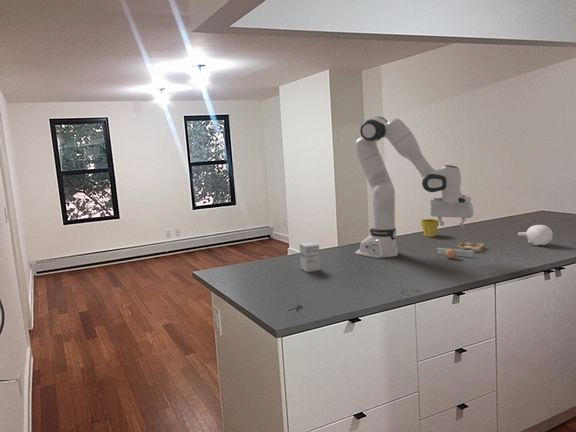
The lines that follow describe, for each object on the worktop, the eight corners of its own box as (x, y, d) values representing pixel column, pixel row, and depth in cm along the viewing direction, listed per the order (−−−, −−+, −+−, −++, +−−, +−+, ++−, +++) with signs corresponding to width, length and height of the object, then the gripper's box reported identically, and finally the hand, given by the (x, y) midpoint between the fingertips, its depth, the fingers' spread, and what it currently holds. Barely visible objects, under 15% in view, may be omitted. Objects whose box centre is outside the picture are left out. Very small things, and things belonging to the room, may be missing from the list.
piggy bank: (555, 249, 255) (529, 246, 268) (558, 227, 256) (532, 225, 269) (541, 245, 249) (515, 242, 262) (544, 223, 250) (518, 221, 263)
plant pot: (431, 233, 301) (431, 218, 300) (442, 236, 292) (442, 220, 290) (417, 235, 298) (417, 220, 296) (428, 238, 288) (428, 222, 287)
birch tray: (455, 250, 255) (455, 246, 255) (462, 245, 265) (462, 242, 265) (479, 252, 248) (479, 248, 248) (485, 247, 258) (485, 244, 258)
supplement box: (300, 268, 233) (299, 243, 231) (314, 266, 235) (313, 241, 233) (306, 272, 226) (305, 246, 224) (320, 270, 229) (319, 244, 227)
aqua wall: (437, 253, 250) (437, 248, 249) (437, 253, 251) (437, 247, 250) (472, 257, 239) (473, 251, 239) (473, 257, 240) (473, 251, 240)
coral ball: (444, 259, 239) (444, 249, 238) (447, 256, 243) (447, 247, 242) (454, 260, 236) (454, 250, 235) (457, 258, 240) (457, 248, 239)
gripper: (428, 198, 238) (428, 225, 240) (470, 199, 226) (470, 228, 228) (432, 197, 243) (433, 223, 245) (474, 197, 231) (474, 226, 233)
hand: (451, 226), depth 237 cm, fingers open, 8 cm apart
